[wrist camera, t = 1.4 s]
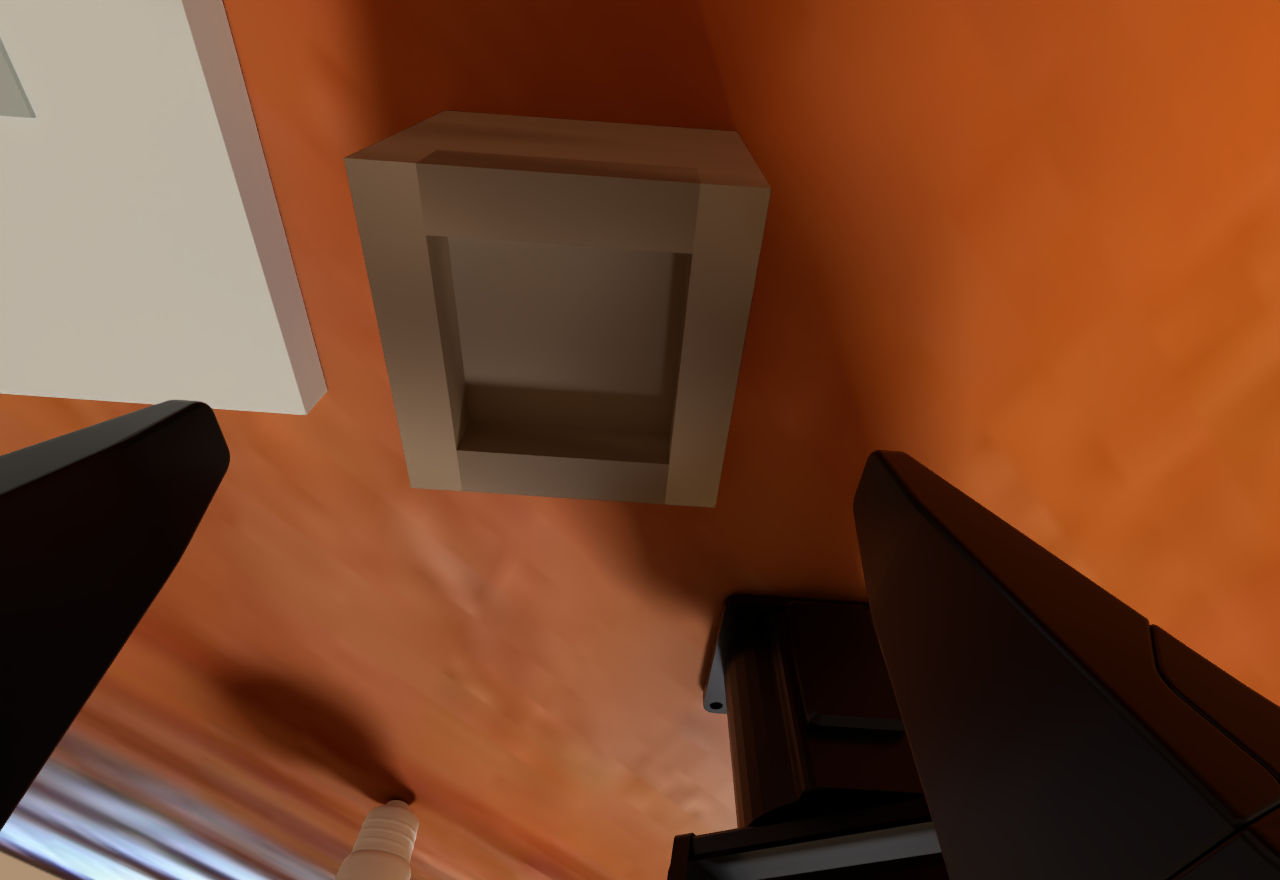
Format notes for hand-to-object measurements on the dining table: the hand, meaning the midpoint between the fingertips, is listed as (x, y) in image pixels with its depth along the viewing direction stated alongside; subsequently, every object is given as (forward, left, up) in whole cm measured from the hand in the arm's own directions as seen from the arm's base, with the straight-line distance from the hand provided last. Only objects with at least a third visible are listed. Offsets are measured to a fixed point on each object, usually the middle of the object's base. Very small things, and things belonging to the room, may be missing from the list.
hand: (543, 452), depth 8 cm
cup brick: (0, 0, -7) cm, 7 cm away
